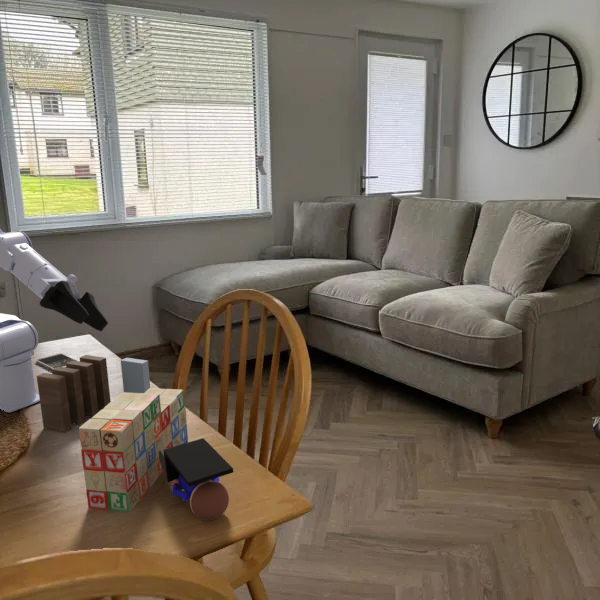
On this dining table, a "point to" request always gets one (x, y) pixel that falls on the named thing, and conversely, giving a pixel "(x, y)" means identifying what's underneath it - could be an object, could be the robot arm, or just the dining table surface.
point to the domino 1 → (54, 402)
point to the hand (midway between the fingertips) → (94, 323)
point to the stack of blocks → (130, 445)
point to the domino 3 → (87, 386)
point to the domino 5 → (135, 375)
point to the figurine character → (197, 476)
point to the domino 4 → (99, 379)
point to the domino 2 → (73, 393)
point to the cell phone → (54, 361)
